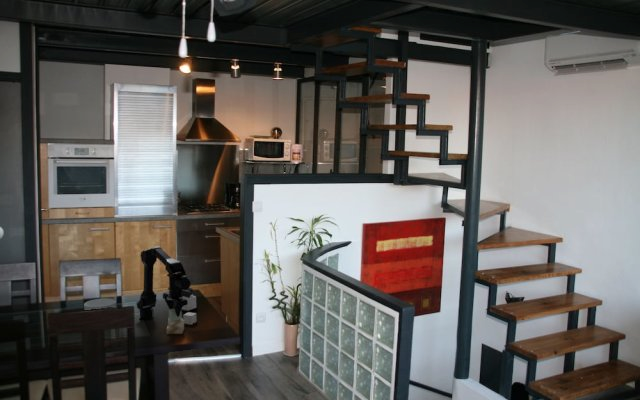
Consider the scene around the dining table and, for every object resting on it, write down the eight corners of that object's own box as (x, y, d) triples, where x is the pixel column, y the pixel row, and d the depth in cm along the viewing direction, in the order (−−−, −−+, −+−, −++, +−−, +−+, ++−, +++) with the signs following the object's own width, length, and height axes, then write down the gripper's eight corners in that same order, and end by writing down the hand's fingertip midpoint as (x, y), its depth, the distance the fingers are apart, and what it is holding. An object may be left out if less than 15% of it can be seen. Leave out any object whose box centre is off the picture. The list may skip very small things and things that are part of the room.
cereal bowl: (113, 308, 344) (113, 296, 344) (118, 316, 330) (117, 304, 329) (83, 312, 337) (82, 300, 336) (85, 320, 322) (85, 308, 321)
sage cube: (181, 319, 307) (181, 310, 307) (172, 321, 304) (172, 311, 304) (177, 316, 311) (177, 307, 311) (168, 318, 308) (168, 309, 308)
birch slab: (169, 328, 303) (169, 322, 303) (167, 324, 310) (167, 318, 309) (183, 327, 306) (183, 320, 306) (181, 322, 312) (181, 316, 312)
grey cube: (183, 323, 320) (183, 314, 320) (188, 320, 325) (188, 312, 325) (191, 324, 319) (191, 315, 318) (196, 321, 324) (196, 313, 323)
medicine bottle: (196, 307, 348) (196, 288, 347) (187, 310, 342) (187, 290, 341) (187, 305, 352) (187, 286, 351) (179, 308, 346) (178, 288, 345)
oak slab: (166, 334, 304) (166, 328, 304) (168, 329, 312) (168, 323, 312) (182, 334, 305) (182, 328, 305) (184, 329, 313) (184, 322, 313)
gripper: (196, 287, 303) (197, 316, 305) (181, 279, 318) (182, 307, 319) (176, 290, 296) (177, 320, 298) (162, 282, 311) (162, 311, 313)
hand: (175, 314), depth 307 cm, fingers open, 7 cm apart
